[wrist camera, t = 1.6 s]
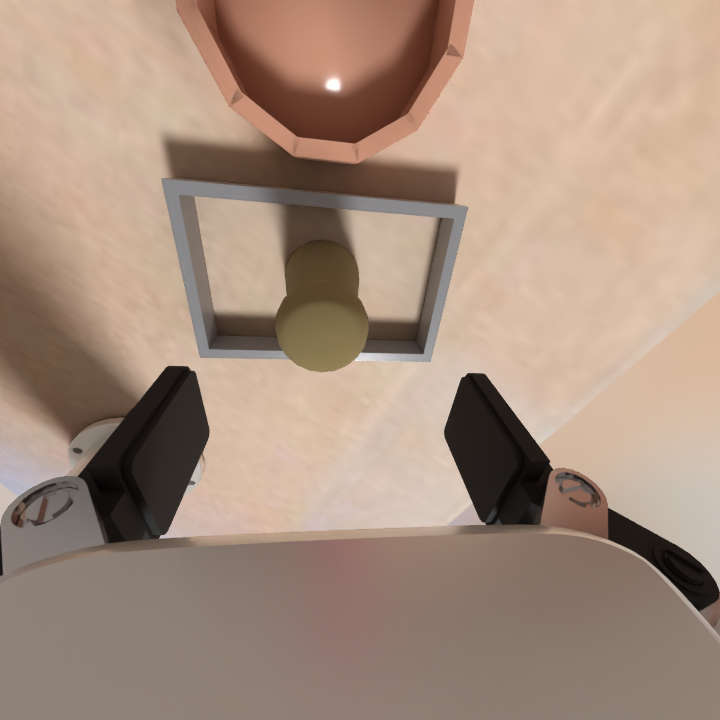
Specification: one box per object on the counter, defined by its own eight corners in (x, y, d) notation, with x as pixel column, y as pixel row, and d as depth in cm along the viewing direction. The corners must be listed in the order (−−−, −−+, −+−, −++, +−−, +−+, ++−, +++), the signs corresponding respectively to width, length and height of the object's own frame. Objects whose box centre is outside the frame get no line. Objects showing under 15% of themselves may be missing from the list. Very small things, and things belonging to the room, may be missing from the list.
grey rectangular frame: (422, 348, 30) (430, 362, 27) (209, 343, 27) (199, 357, 25) (454, 203, 23) (468, 206, 21) (178, 177, 20) (161, 178, 18)
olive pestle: (270, 284, 25) (239, 351, 15) (314, 222, 23) (309, 257, 13) (329, 325, 27) (332, 405, 18) (374, 273, 25) (404, 332, 16)
